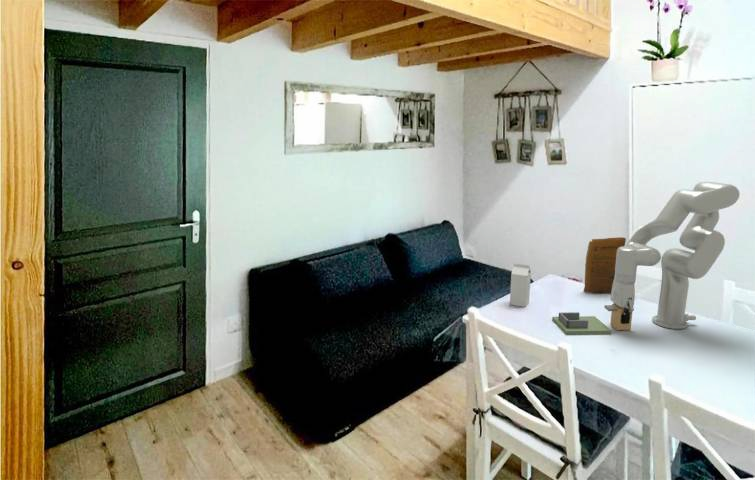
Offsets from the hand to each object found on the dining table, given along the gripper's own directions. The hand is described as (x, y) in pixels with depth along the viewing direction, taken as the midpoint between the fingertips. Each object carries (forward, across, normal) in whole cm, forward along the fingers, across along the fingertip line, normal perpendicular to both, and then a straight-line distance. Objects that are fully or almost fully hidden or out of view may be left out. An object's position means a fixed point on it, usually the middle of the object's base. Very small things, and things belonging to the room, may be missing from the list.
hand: (621, 320), depth 194 cm
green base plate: (+3, -1, -16) cm, 16 cm away
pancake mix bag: (+4, -44, +12) cm, 46 cm away
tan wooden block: (+3, 0, -2) cm, 4 cm away
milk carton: (+3, -29, -33) cm, 44 cm away
